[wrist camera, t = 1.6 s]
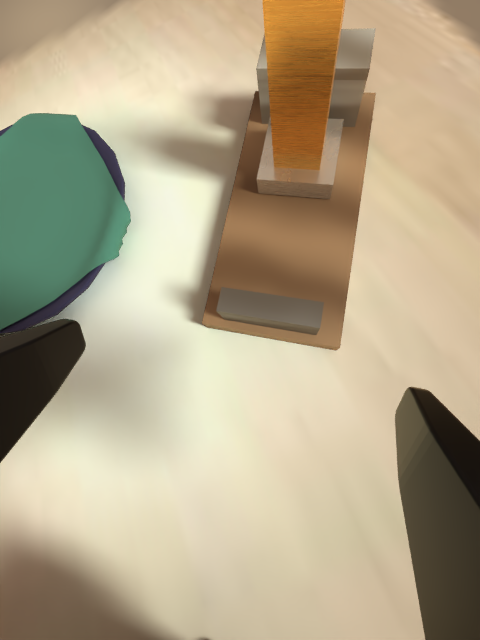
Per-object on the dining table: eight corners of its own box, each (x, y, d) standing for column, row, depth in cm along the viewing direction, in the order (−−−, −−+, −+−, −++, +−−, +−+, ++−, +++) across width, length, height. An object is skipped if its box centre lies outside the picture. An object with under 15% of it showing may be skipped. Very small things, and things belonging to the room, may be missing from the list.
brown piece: (336, 350, 20) (353, 336, 14) (207, 327, 22) (180, 307, 16) (370, 111, 23) (394, 27, 18) (257, 108, 25) (248, 31, 20)
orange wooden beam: (330, 199, 20) (373, 0, 10) (258, 193, 21) (229, 7, 11) (351, 66, 22) (406, -214, 12) (285, 66, 23) (282, -192, 13)
